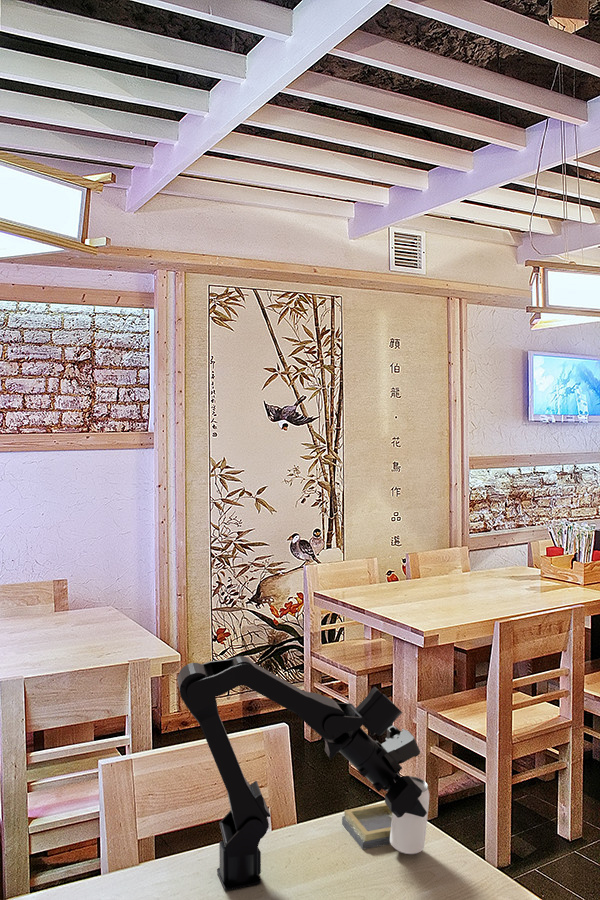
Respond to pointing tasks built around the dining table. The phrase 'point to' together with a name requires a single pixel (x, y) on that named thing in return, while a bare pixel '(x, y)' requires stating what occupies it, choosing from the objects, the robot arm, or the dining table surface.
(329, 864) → the dining table surface
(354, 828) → the gold square coaster
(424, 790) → the can
